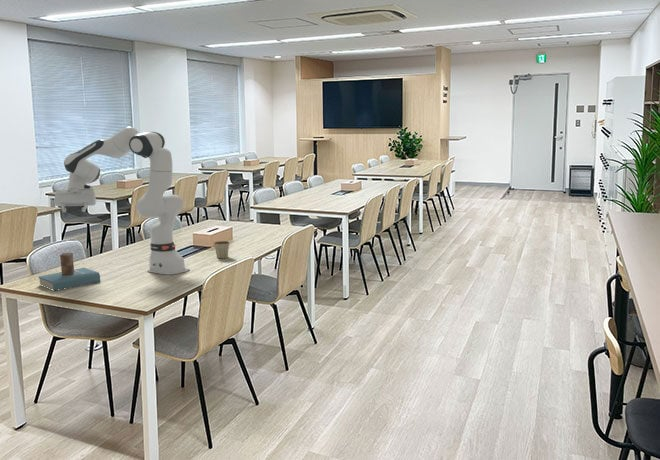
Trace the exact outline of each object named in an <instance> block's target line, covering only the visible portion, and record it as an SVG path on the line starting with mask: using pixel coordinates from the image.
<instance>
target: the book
mask: <svg viewBox="0 0 660 460" xmlns="http://www.w3.org/2000/svg"><path fill="white" fill-rule="evenodd" d="M37 277H38V279H39V285H40V284H41V285H43V286H45V287H48V288H50V289H53V290H58V289H62V290H65V289H64V288H67V289H70V288H69V287H72V288H75V286H77V287H80V285H81V286H85V284H86V285H89V284H90V283H91V284H95V283H99V282H101V274H100V272H99V271H98V272H97V271H95V270H92V269H89V268H87V267H81V268H74V273H73V274H72V275H62V271H60V272H54V273H53V272H52V273H50V274H43V275H38V276H37ZM45 287H44V288H45ZM58 291H59V290H58Z"/></svg>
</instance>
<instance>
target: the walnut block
mask: <svg viewBox="0 0 660 460" xmlns="http://www.w3.org/2000/svg"><path fill="white" fill-rule="evenodd" d="M73 254H74V253H73V252H62V253H61V254H60V255H59V257H60V259H59V260H60V268H61V269H60V270H61V271H60V272H62V275H72V274H73V273H74V269H75V265H74V255H73Z"/></svg>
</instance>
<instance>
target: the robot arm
mask: <svg viewBox="0 0 660 460" xmlns="http://www.w3.org/2000/svg"><path fill="white" fill-rule="evenodd" d="M165 145H166V141H165V137H164V136H163V135H162V134H161V133H159V132H156V131H147V132H146V131H145V132H141V133H140V132H139V131H138V130H137V129H136V128H135V127H133V126H126V127H124V128H122V129H120V130H119V131H117V132H116V133H115V134H113V135H112V136H111V137H108V138H105V139H98V140H95V141H92V142H91V143H90V144H88V145H86V146H85V147H83V148H81V149H79V150H78V151H76V152H73V153H70V154H69V155H67V156H66V157H65V159H64V161H63V165H64V168H65V170H66V172H69V178H68V181H69V182H68V184H67V189H63V190H58V191H55V193H54V199H53V204H54V206H55V207H61V209H62V211H61V212H62V213H66V212H67V208H66V207H81V206H83V207H81V212H83V213H85V212H86V209H87V208H89V206H90V207H91V206H95V205H96V204H97V200H96V195H95V193H96V192H95V189H94V187H93V185H89V184H91V183H94V182H96V181H97V180H99V177H100V175H101V168H100V166H99V165H97V164H96V163H93V162H92V161H89V160H88V159H89V158H91V157H92V156H95V155H101V156H106V157H109V158H113V159H120V158H123V157H124V156H126V155H127V154H129V153H130V152H132V153H133V154H135V155H137V156H140V157H141V158H144V159H149V162H150V163H149V165H150V167H149V182H148V185H147V188H146V191H145V192H144V194H143V195H142V196H141V197H140V198H139V199H138V200H137V201H136V205H135V210H136V213H137V214H138V215H139V217H140V218H145V219H146V218H150V219H153V218H158V219H157V220H156V222H155V223H154V224H153V225H152V226H151V228H150V245H149V246H150V250H151V251H150V254H149V259H148V260H149V264H148V265H149V266H148V269H147V272H148V273H154V274H161V275H166V276H170V275H177V274H183V273H186V272H189V271H190V267H188V266H186V265H185V259H184V257H183V256H181V255H180V253H179V252H178V251H177V250H176V247H177V246H176V244H175V242H174V241H173V240H174V239H173V238H174V236H173V234H174V233H173V231H174V230H173V228H174V225H175V220H176V218H177V217H178V215H180V213H181V212H182V210H183V208H184V201H183V199H182V198H181V197H180V195H178V194H170V193H169V194H165V192H166V191H167V190H168V189H169V188H171V186H172V183H173V158H172V153H171V151H170V150H169V149H167V148H165Z"/></svg>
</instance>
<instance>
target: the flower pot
mask: <svg viewBox="0 0 660 460" xmlns="http://www.w3.org/2000/svg"><path fill="white" fill-rule="evenodd" d="M230 244H231V242H230V241H228V240H220V241H215V242H213V245H214V249H215V255H216V258H218V259H227V258H228V257H229V247H230Z"/></svg>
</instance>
